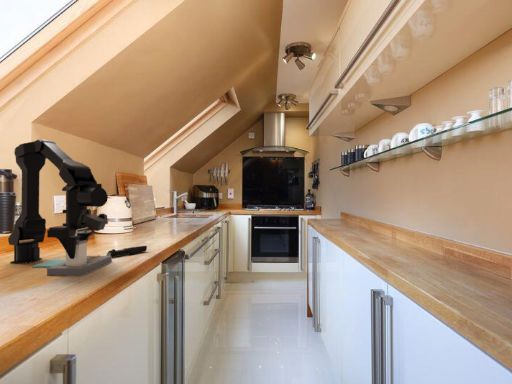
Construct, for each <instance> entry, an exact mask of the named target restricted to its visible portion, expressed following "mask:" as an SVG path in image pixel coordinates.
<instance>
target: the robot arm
mask: <svg viewBox="0 0 512 384" xmlns="http://www.w3.org/2000/svg"><path fill="white" fill-rule="evenodd" d="M13 153H14V156H15V157H14V158H15V163H16V164H17V166H18V167H19V169H20V170H21V205H20V206H21V209H20V211H21V212H20V213H21V214H20V215H19V216H18V218H17V219H16V220H15V222H14V228H13V230H12V231H11V232H10V235H9V236H8V238H7V241H8V245H10V246H13V255H14V256H13V260H11V261H10V264H31V263H34V262H38V261H40V260H42V259H43V258H42V257H41V256H40V255H41V252H40V251H41V250H40V249H41V248H40V247H39V244H40V243H44V241H45V236H46V238H54V239H57V240H58V241H59V242H60V244H61V246H62V247H63V248H64V250H65V253H66V252H67V254H68V256H69V257H70V259H74V257H75V251H76V242H77V240H87V242H88V241H89V240H90V239H89V238H91V237H92V236H94V235H95V234H96V232H99V231H103V230H104V229H105V227H106V225H108V224H109V220H108V215H107V213H99V214H98V215H97V214H92V210H91V209H90V208H91V207H92V208H95V207H97V208H101V207H103V206H105V205H106V204H107V202H108V198H109V196H108V193H107V191H106V190H105V189H104V187H102V186H103V184H102V183H98V181H97V180H96V179H95V176H94V174H93V172H92V169H91V168H90V166H88V165H86V164H84V163H83V162H79V161H75V160H74V159H73V158H72V157H70V155H68V154H67V153H66V152H65V151H63V149H62V148H60V147H59V146H58V145H57V144H56V142H55V141H53V140H48V139H43V138H39V139H36V140H34V141H29V142H24V143H20V144H19V145H18V146H16V147H15V148H14V152H13ZM46 160H48V161H49V162H50V163H52V164H53V165H54V166H55V167H56V168H57V170H59V172H58V175H59V177H60V178H61V180H62V181H63V182H64V183H65V186H63V187H62V188H61V191H62V192H65V209H62V214H65V222H64V223H62V225H57V226H50V227H49V228H48V229H47V227H46V226H47V225H46V224H47V220H46V219H45V218H44V217H42V215H41V214H40V172H41V170H42V169H43V168H44V166H45V165H46ZM88 207H90V208H88ZM95 231H96V232H95Z"/></svg>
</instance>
